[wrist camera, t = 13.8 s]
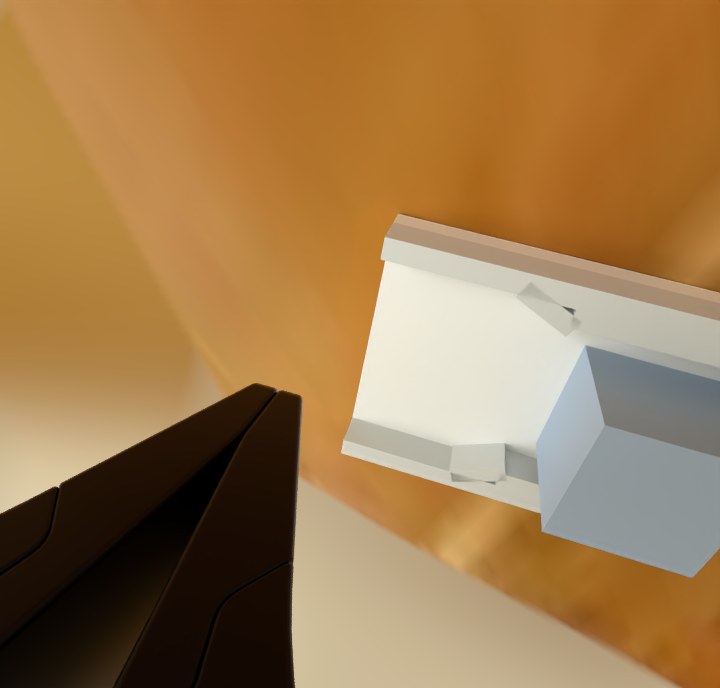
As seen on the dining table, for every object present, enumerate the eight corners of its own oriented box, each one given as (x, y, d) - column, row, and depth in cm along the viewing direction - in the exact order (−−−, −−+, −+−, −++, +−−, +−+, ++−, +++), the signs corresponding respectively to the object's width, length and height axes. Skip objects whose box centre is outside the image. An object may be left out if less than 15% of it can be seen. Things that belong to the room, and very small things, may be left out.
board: (803, 313, 17) (843, 352, 15) (658, 505, 23) (673, 553, 21) (398, 213, 19) (384, 236, 17) (355, 416, 24) (341, 452, 22)
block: (728, 383, 18) (786, 476, 14) (658, 479, 21) (692, 578, 17) (585, 345, 18) (604, 425, 15) (535, 443, 21) (542, 531, 18)
